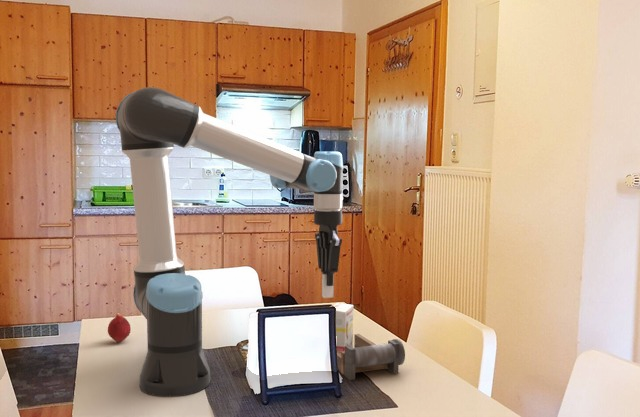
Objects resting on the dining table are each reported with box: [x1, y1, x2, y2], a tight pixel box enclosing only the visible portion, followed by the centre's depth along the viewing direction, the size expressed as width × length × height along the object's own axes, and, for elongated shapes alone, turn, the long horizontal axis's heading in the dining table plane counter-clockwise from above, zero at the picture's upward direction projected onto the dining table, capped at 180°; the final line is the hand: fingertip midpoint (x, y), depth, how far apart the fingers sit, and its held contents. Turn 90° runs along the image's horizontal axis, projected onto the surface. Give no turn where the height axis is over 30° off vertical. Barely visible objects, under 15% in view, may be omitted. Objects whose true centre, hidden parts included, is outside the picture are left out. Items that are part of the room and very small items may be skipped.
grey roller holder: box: [337, 333, 406, 381], centre depth 148 cm, size 13×22×8 cm, turn 23°
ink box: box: [332, 302, 354, 354], centre depth 156 cm, size 9×5×12 cm, turn 162°
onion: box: [107, 312, 131, 344], centre depth 162 cm, size 6×6×8 cm
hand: (327, 296), depth 163 cm, fingers closed
